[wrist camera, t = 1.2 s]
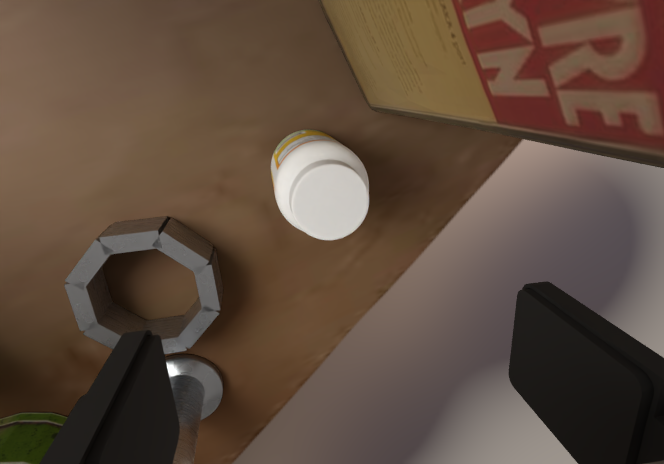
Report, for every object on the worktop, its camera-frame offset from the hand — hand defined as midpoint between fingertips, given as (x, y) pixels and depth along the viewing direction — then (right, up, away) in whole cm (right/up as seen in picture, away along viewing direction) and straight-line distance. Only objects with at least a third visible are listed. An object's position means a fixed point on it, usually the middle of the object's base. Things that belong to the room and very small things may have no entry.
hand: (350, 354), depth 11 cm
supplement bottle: (-2, +8, +19) cm, 21 cm away
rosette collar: (-13, 0, +20) cm, 24 cm away
